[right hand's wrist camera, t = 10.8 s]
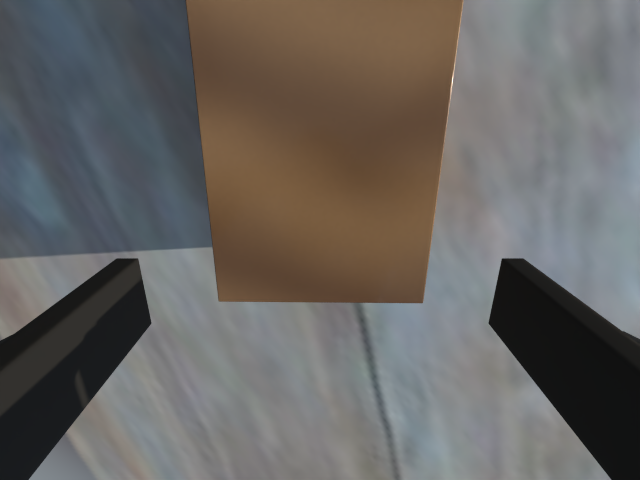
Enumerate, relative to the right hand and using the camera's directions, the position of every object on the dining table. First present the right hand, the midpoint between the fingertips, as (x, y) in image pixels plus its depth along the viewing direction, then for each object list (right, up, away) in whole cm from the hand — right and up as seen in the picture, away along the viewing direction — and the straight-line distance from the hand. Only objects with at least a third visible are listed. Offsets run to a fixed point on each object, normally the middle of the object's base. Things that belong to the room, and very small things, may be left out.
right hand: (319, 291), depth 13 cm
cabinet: (0, +12, +11) cm, 16 cm away
